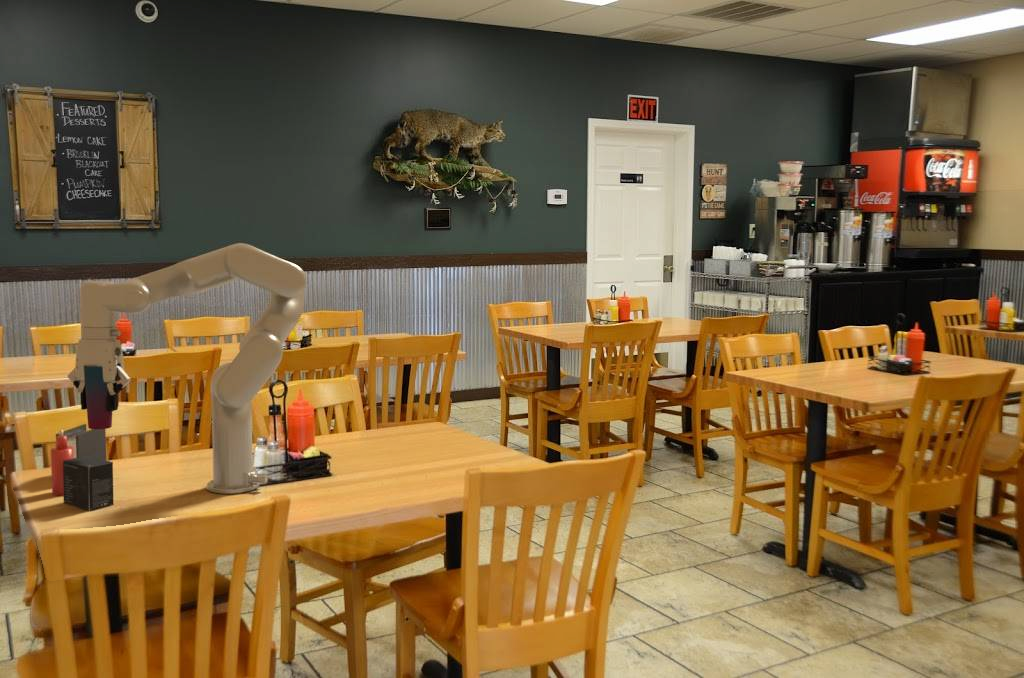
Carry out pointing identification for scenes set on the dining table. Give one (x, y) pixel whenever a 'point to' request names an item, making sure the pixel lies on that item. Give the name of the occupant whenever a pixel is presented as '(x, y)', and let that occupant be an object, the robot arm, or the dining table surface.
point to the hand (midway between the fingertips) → (99, 408)
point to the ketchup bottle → (59, 463)
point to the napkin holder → (86, 441)
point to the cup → (96, 398)
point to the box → (88, 482)
